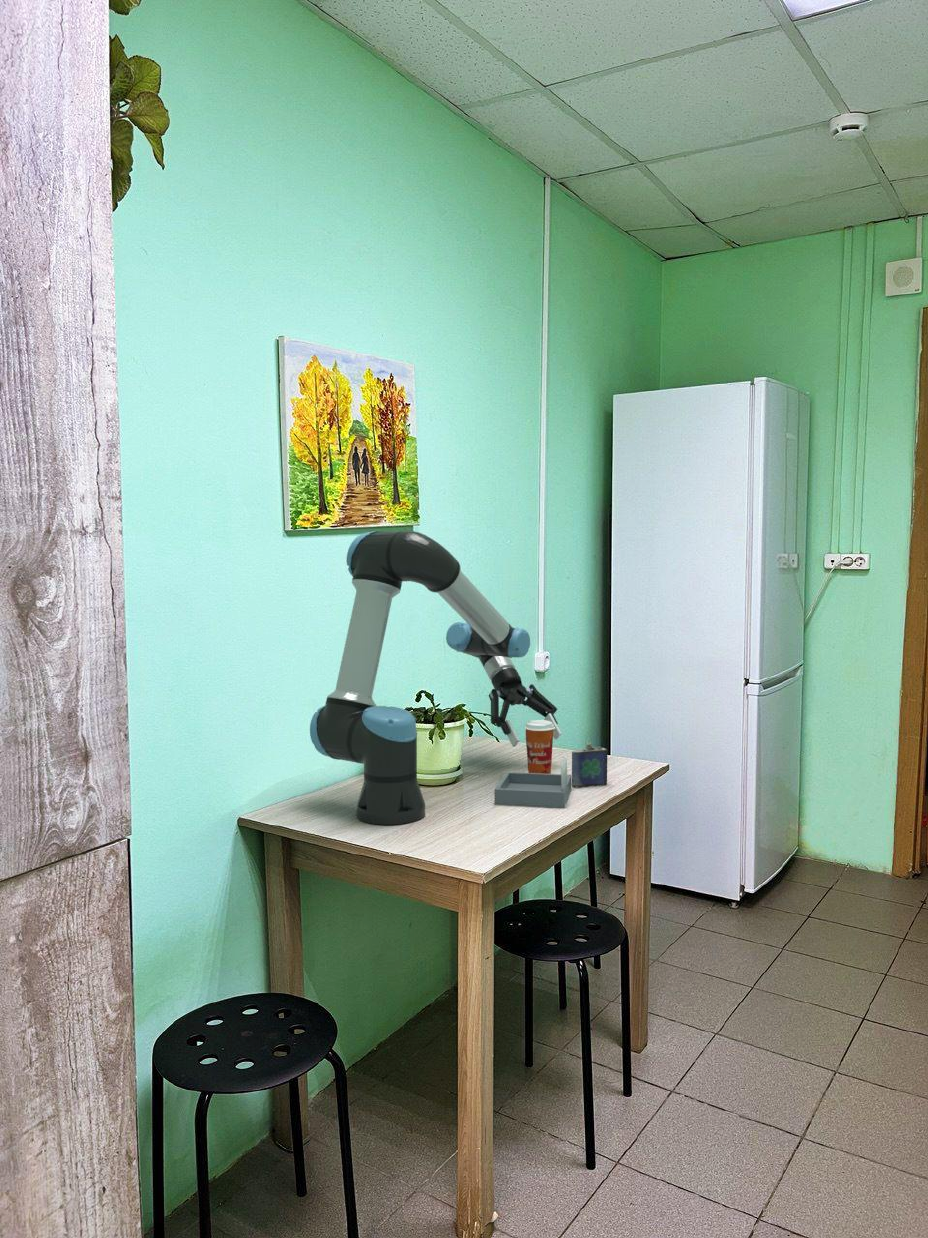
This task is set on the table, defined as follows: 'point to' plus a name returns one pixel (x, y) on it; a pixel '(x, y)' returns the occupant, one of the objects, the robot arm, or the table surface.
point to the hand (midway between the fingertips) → (537, 740)
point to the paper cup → (539, 745)
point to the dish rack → (534, 788)
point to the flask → (589, 766)
